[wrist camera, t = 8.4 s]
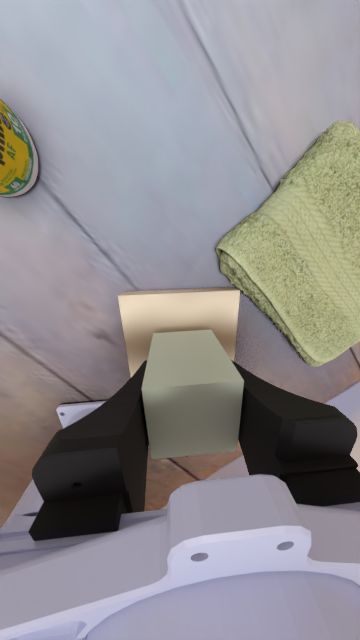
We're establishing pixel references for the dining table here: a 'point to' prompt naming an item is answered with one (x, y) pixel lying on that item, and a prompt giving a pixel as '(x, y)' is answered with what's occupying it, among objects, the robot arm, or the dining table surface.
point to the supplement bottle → (15, 155)
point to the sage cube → (191, 395)
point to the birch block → (177, 317)
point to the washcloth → (306, 249)
